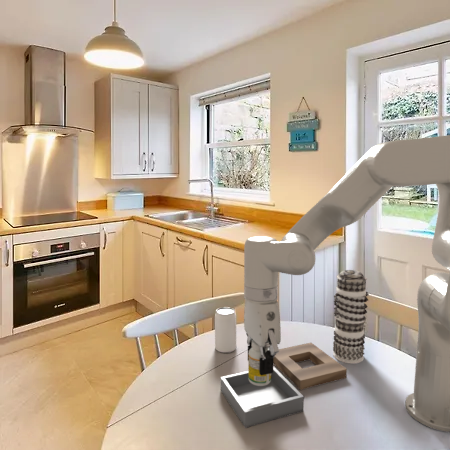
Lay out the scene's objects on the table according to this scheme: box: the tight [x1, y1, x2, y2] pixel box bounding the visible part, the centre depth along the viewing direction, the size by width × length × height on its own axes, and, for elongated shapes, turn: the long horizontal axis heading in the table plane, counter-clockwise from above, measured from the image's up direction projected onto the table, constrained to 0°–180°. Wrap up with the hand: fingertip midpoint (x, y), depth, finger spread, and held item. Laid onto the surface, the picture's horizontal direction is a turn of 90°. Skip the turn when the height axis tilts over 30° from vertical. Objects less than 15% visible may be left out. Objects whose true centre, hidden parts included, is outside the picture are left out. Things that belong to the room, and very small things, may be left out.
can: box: [214, 306, 237, 354], centre depth 113 cm, size 6×6×12 cm
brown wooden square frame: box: [273, 342, 348, 391], centre depth 102 cm, size 16×14×2 cm
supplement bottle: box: [247, 340, 271, 386], centre depth 87 cm, size 5×5×10 cm
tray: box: [220, 365, 305, 429], centre depth 88 cm, size 14×14×4 cm
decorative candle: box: [332, 269, 369, 364], centre depth 107 cm, size 9×9×25 cm
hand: (260, 366), depth 87 cm, fingers closed on supplement bottle, 5 cm apart
